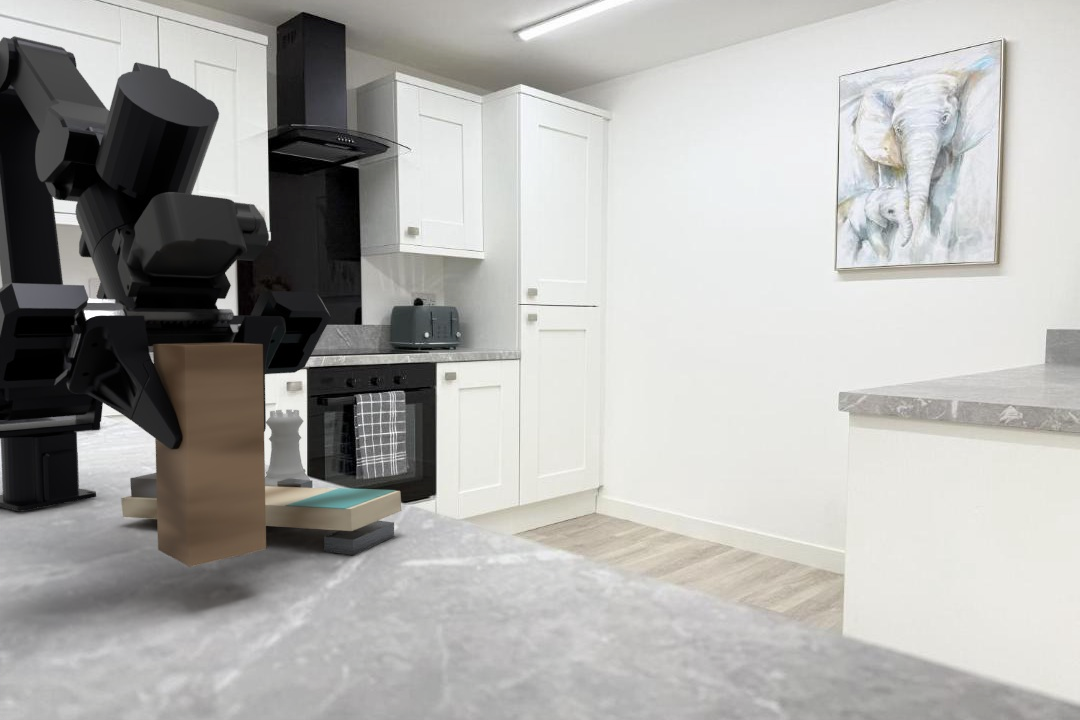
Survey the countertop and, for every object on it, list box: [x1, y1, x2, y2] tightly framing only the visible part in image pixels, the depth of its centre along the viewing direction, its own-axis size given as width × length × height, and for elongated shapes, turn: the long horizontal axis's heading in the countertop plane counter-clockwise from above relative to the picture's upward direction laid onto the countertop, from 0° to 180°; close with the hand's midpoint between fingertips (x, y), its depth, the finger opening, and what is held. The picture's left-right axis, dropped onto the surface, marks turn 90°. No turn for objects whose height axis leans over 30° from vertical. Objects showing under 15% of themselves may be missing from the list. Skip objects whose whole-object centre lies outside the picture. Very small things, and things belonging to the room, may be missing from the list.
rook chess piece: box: [265, 409, 311, 487], centre depth 69 cm, size 4×4×8 cm
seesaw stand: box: [277, 478, 395, 556], centre depth 57 cm, size 12×10×3 cm
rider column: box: [152, 343, 267, 568], centre depth 44 cm, size 4×4×12 cm
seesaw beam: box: [121, 472, 402, 531], centre depth 59 cm, size 22×6×4 cm, turn 67°
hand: (220, 439), depth 43 cm, fingers closed on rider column, 4 cm apart
